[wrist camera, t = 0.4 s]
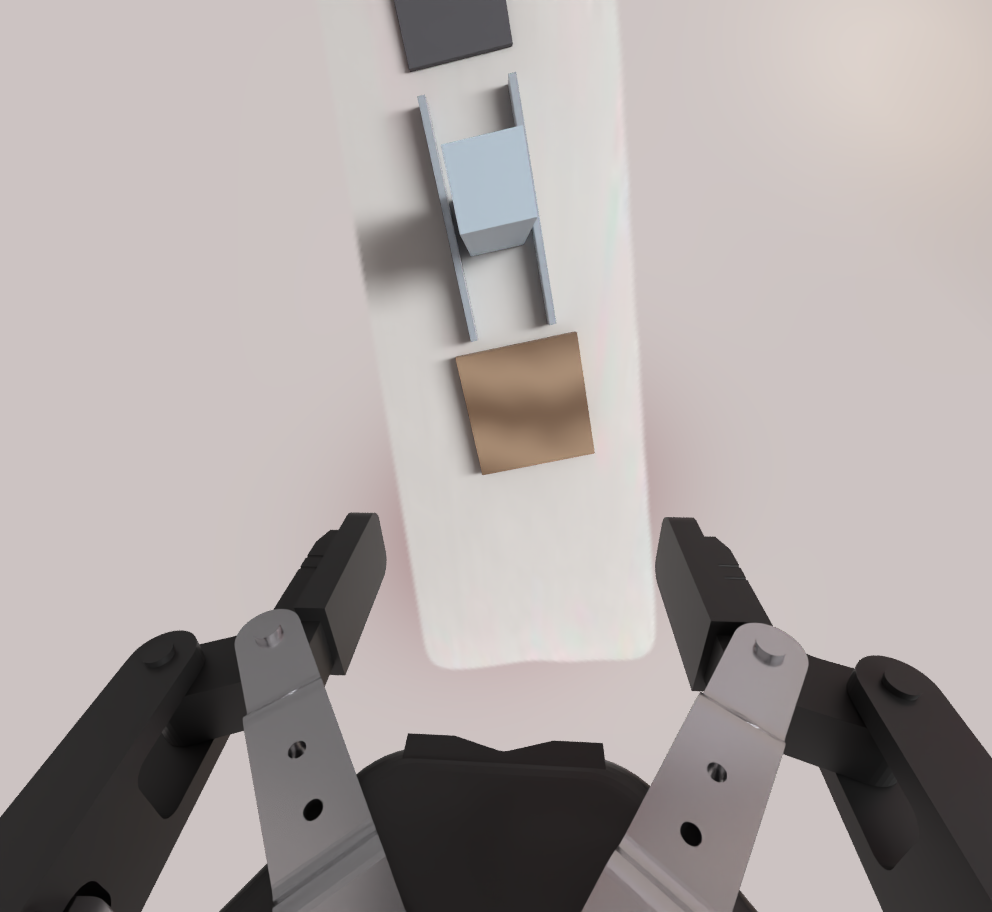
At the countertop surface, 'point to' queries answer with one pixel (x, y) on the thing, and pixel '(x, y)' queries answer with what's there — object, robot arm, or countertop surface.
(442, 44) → the dark gray flat plate
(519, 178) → the block
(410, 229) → the countertop surface
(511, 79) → the channel
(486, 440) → the board
